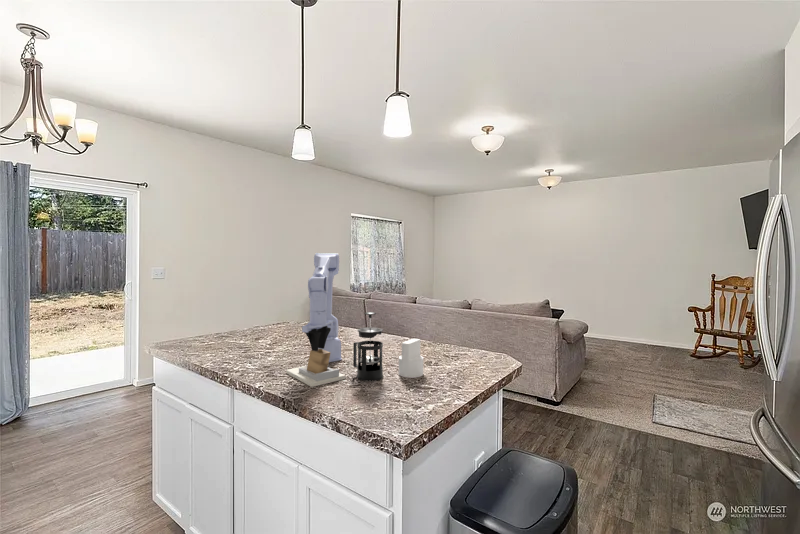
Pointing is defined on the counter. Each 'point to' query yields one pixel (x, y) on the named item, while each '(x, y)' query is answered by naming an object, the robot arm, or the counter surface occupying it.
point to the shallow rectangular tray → (315, 376)
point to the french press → (370, 365)
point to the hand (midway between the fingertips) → (318, 349)
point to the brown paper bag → (318, 361)
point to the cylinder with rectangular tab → (411, 359)
